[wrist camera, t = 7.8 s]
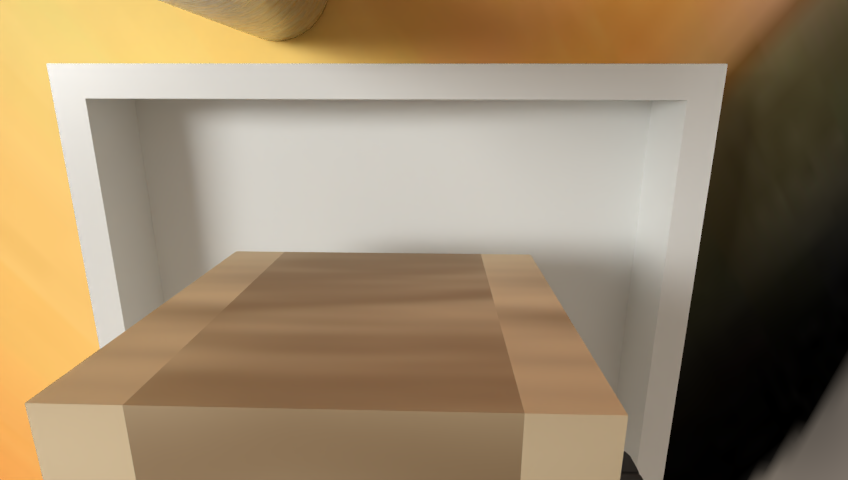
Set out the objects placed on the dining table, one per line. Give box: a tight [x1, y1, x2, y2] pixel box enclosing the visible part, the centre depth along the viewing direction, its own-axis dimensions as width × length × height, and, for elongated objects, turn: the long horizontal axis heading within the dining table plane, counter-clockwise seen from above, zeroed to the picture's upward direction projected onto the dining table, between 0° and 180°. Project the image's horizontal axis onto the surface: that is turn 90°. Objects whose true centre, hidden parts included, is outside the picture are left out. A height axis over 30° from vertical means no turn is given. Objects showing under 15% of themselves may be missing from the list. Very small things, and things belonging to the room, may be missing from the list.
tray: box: [47, 64, 728, 480], centre depth 19 cm, size 20×20×3 cm
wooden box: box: [25, 251, 628, 480], centre depth 12 cm, size 9×9×8 cm
